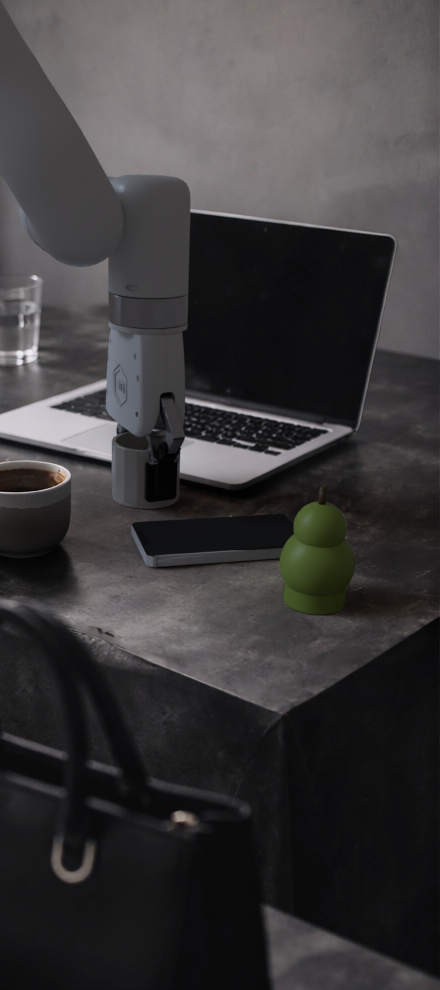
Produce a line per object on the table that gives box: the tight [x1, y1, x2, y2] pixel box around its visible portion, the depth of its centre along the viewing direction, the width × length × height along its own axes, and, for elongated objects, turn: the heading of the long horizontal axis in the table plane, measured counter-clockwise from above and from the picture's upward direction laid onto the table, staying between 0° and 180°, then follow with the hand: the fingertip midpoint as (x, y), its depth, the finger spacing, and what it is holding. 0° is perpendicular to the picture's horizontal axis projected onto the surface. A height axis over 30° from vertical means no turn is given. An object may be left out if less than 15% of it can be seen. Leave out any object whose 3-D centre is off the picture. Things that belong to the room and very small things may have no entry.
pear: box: [279, 485, 356, 616], centre depth 78 cm, size 6×6×10 cm
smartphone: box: [130, 513, 294, 568], centre depth 89 cm, size 8×1×15 cm
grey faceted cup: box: [111, 432, 181, 510], centre depth 99 cm, size 7×7×6 cm
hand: (146, 485), depth 99 cm, fingers closed on grey faceted cup, 6 cm apart
